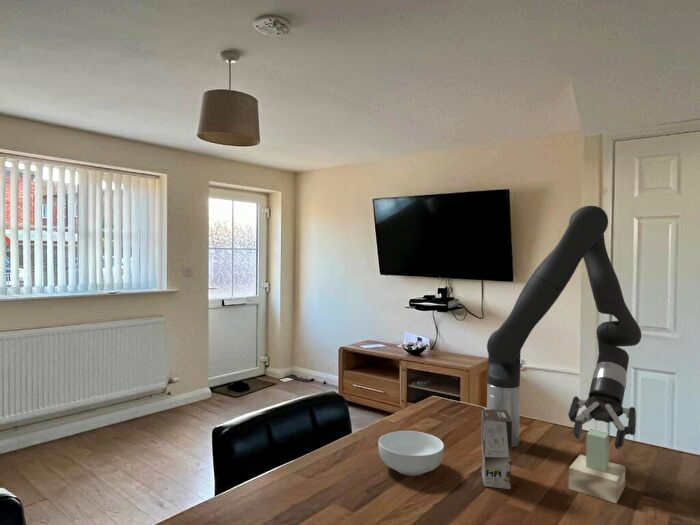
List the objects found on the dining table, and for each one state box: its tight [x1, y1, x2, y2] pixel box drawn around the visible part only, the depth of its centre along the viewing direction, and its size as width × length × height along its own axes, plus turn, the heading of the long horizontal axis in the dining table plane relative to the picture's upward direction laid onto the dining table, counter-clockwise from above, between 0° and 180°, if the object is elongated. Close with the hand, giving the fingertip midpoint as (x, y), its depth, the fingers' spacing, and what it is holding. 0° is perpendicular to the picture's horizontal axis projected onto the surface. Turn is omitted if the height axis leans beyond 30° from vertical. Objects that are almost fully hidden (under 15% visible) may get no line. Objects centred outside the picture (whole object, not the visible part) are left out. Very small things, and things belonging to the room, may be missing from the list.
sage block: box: [585, 428, 610, 472], centre depth 111 cm, size 4×4×8 cm
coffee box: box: [480, 408, 513, 490], centre depth 114 cm, size 9×6×16 cm
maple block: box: [568, 454, 626, 504], centre depth 111 cm, size 10×10×5 cm
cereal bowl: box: [377, 430, 445, 477], centre depth 120 cm, size 17×17×7 cm
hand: (596, 442), depth 110 cm, fingers open, 8 cm apart
